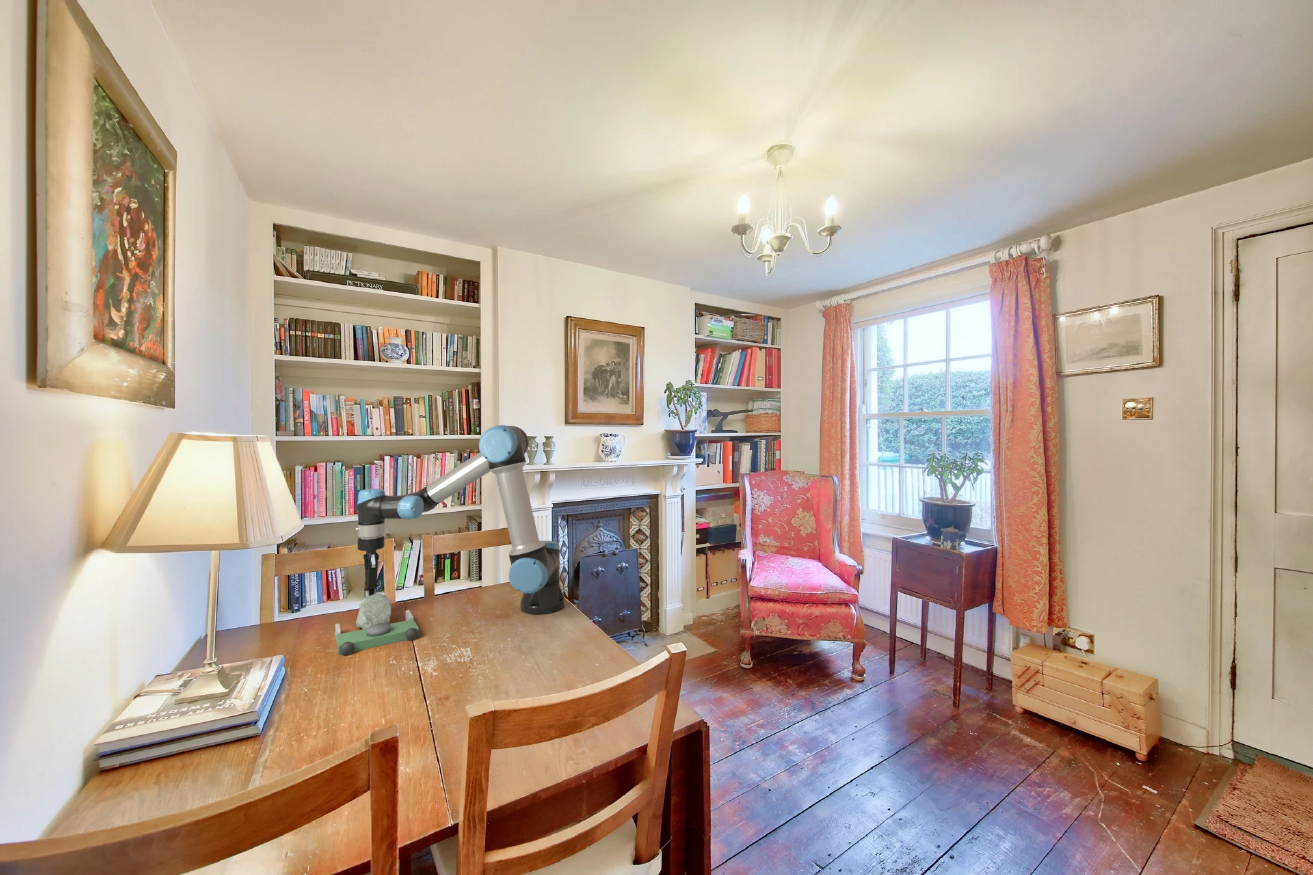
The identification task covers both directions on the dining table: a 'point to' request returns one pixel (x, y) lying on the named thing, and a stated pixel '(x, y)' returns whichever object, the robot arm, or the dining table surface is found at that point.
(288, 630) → the dining table surface
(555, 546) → the robot arm
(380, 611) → the decorative stone
